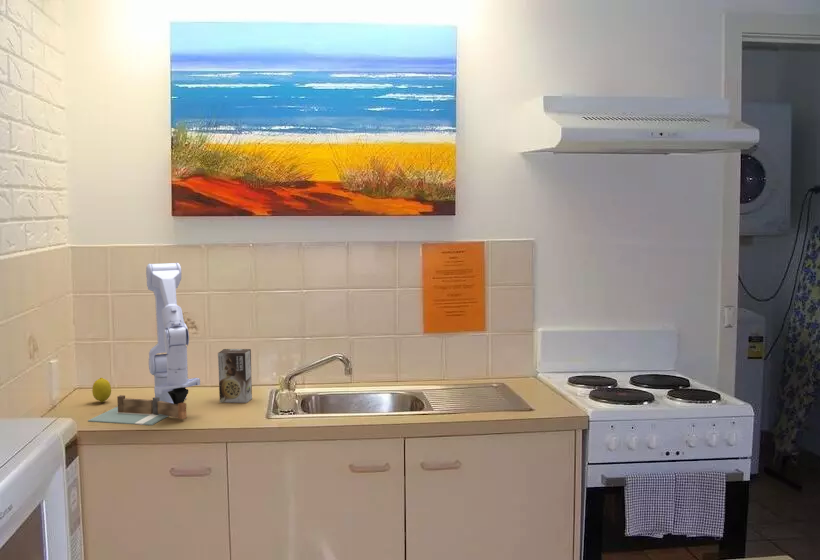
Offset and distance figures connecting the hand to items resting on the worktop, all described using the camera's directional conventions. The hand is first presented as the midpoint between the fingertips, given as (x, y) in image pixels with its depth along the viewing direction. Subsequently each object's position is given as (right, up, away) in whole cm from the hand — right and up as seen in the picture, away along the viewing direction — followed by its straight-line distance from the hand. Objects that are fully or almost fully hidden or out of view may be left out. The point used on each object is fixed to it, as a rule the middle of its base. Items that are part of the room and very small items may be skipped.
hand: (178, 413), depth 235 cm
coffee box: (+12, 0, +21) cm, 24 cm away
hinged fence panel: (-2, -1, 0) cm, 2 cm away
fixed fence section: (-13, -1, +4) cm, 14 cm away
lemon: (-29, 0, +18) cm, 34 cm away
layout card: (-13, -1, +5) cm, 14 cm away
